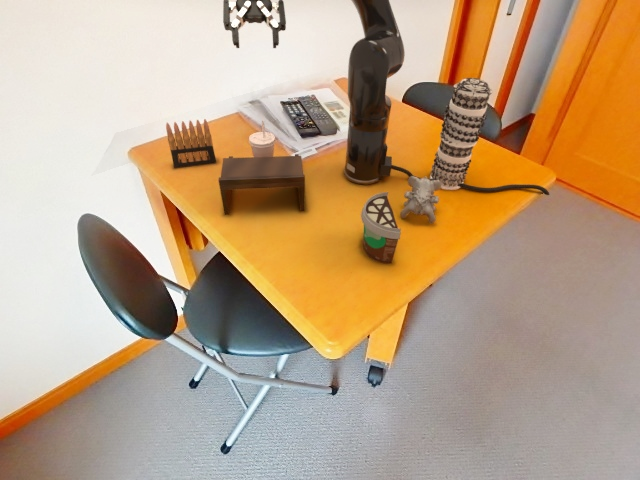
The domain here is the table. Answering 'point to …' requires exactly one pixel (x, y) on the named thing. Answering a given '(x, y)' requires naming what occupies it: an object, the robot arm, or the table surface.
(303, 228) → the table surface
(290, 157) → the stand
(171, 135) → the ammunition clip
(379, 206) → the food container
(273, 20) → the robot arm
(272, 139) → the smoothie
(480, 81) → the white patterned cylinder
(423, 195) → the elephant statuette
